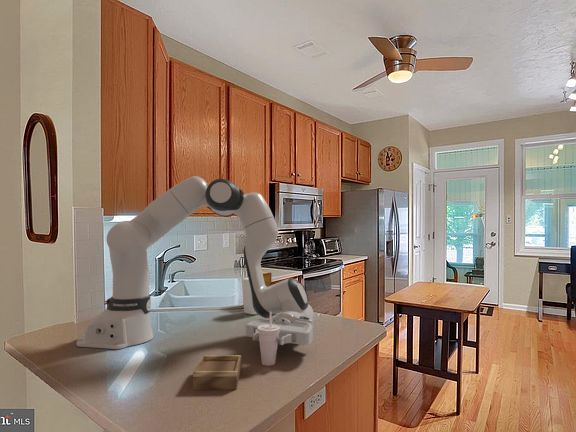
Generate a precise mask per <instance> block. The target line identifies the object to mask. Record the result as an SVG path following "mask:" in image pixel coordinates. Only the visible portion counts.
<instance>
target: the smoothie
mask: <svg viewBox="0 0 576 432" xmlns="http://www.w3.org/2000/svg"><path fill="white" fill-rule="evenodd" d="M272 317H273V316H272V312H270V318H269V320H270V324H265V325H260V326H258V327H257V332H258V334H259V341H258V342H259V350H260V358H261V364H262V365H263V366H267V367H269V366H274V365H275V364H276V359H277V353H278V352H277V351H278V344H277V342H278V341H277V338H278V336H279V332H280V327H279V326H278V325H273V324H272V321H273V320H272V319H273V318H272Z"/></svg>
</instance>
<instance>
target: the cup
mask: <svg viewBox="0 0 576 432" xmlns="http://www.w3.org/2000/svg"><path fill="white" fill-rule="evenodd" d="M242 303H243V310H244V311H243V313H244V314H246V315H251V316H255V315H256V316H257V315H258V314H257V313H256V312H255V310H254V308H253V304H252V292H251V287H250V283H249V278H248V277H245V278H242Z"/></svg>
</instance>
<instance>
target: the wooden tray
mask: <svg viewBox="0 0 576 432" xmlns="http://www.w3.org/2000/svg"><path fill="white" fill-rule="evenodd" d="M241 373H242V355H241V354H240V355H239V354H238V355H236V354H235V355H233V354H231V355H230V354H228V355H221V354H220V355H202V356H201V357H200V360H199V361H198V363H197V365H196V366H195V368H194V370H193V372H192V390H193V391H195V390H196V391H200V390H201V391H208V390H210V391H211V390H213V391H214V390H220V391H221V390H224V391H225V390H237V388H238V385H239V381H240V376H241Z"/></svg>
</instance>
